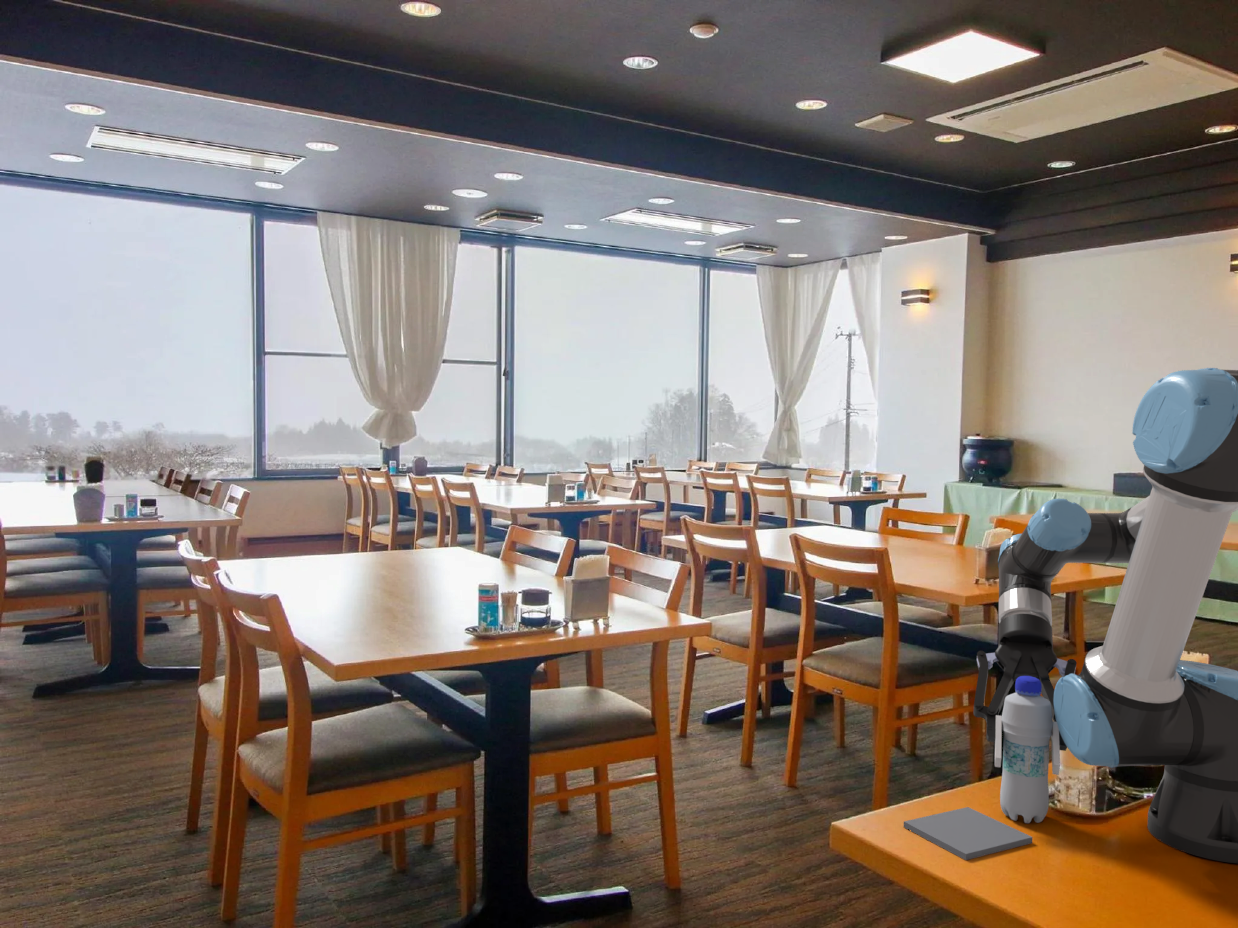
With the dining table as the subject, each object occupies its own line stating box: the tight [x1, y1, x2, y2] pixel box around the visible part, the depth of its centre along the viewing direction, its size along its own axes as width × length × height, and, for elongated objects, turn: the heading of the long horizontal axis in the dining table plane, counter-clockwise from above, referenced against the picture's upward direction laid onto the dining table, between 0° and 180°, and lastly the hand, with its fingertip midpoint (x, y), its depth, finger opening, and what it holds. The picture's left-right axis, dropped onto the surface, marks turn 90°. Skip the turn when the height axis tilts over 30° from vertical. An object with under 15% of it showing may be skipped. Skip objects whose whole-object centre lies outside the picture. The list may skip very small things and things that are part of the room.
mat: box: [903, 806, 1033, 861], centre depth 130 cm, size 11×12×1 cm
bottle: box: [999, 676, 1054, 824], centre depth 136 cm, size 7×7×20 cm
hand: (1026, 765), depth 132 cm, fingers closed on bottle, 7 cm apart
